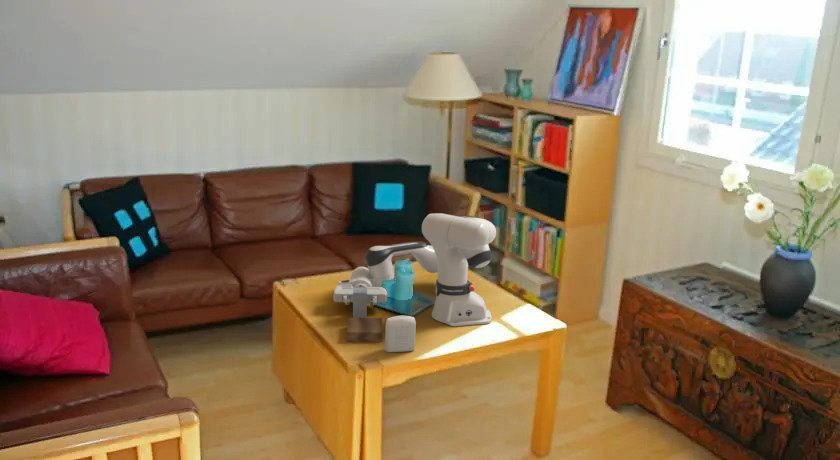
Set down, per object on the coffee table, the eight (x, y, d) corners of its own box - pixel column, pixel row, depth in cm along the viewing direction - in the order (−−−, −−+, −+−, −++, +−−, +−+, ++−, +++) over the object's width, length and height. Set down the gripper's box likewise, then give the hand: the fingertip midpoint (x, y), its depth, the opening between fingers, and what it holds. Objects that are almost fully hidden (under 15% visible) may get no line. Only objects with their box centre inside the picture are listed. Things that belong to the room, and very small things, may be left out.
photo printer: (413, 345, 249) (414, 312, 245) (416, 351, 245) (417, 317, 241) (383, 348, 246) (384, 314, 243) (386, 353, 242) (386, 319, 239)
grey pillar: (366, 315, 272) (367, 287, 269) (366, 320, 267) (366, 292, 264) (353, 315, 272) (353, 287, 268) (352, 320, 267) (353, 292, 264)
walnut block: (381, 328, 262) (381, 318, 261) (382, 343, 251) (382, 332, 250) (348, 328, 262) (348, 317, 260) (347, 342, 250) (347, 332, 249)
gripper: (387, 296, 282) (388, 311, 269) (334, 296, 281) (332, 310, 267) (387, 281, 280) (388, 295, 267) (334, 281, 279) (332, 294, 266)
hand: (360, 303), depth 267 cm, fingers open, 8 cm apart
